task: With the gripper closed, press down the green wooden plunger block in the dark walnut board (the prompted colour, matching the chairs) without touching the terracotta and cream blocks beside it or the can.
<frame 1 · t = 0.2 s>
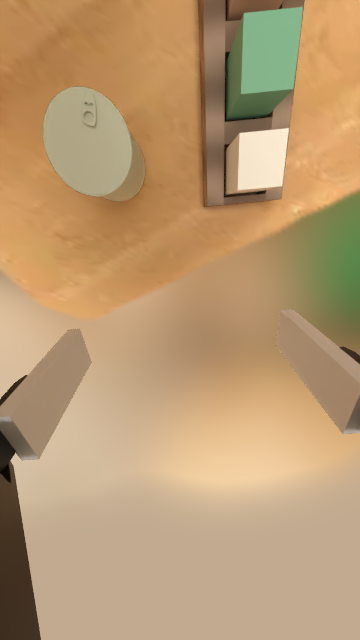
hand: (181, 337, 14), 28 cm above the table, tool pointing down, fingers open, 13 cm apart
green block: (257, 74, 24), point 6 cm above the table, slide at 0.0 cm
walnut board: (240, 101, 29), on the table
can: (115, 167, 33), on the table
cream block: (251, 166, 27), point 6 cm above the table, slide at 0.0 cm
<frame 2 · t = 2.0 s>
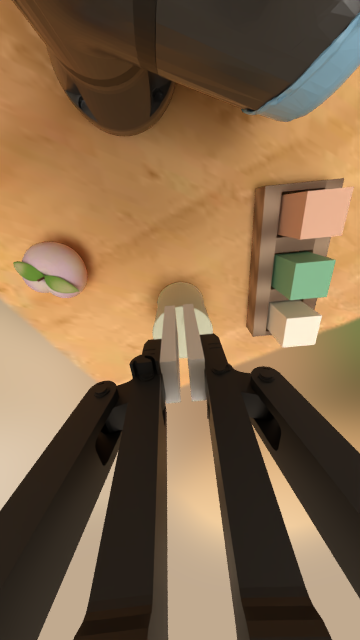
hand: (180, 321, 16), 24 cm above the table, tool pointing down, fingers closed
green block: (298, 274, 33), point 6 cm above the table, slide at 0.0 cm
walnut board: (280, 265, 39), on the table
can: (180, 303, 42), on the table
cream block: (290, 321, 37), point 6 cm above the table, slide at 0.0 cm
terracotta block: (309, 214, 29), point 7 cm above the table, slide at 0.0 cm
decorative fruit: (70, 262, 38), on the table
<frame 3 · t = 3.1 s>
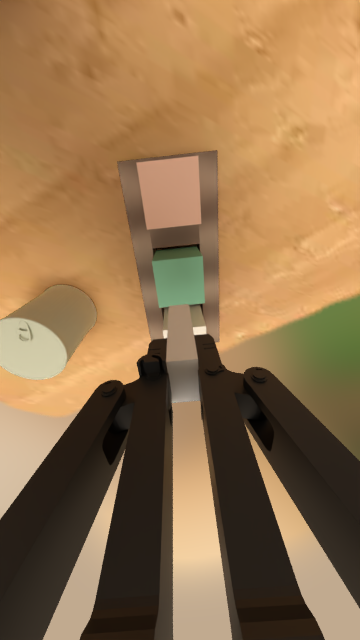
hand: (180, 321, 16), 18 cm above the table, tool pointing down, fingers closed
green block: (178, 274, 27), point 6 cm above the table, slide at 0.0 cm
walnut board: (177, 263, 32), on the table
can: (69, 310, 36), on the table
cream block: (184, 332, 31), point 7 cm above the table, slide at 0.0 cm
terracotta block: (171, 197, 23), point 7 cm above the table, slide at 0.0 cm
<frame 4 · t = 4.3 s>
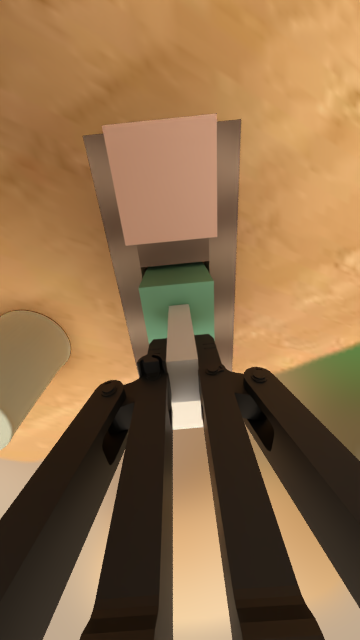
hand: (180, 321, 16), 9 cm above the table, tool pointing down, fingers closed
green block: (178, 300, 19), point 5 cm above the table, slide at -1.4 cm, touching gripper
walnut board: (177, 283, 24), on the table
can: (34, 341, 27), on the table
cream block: (185, 380, 22), point 7 cm above the table, slide at 0.0 cm
terracotta block: (167, 192, 14), point 6 cm above the table, slide at 0.0 cm
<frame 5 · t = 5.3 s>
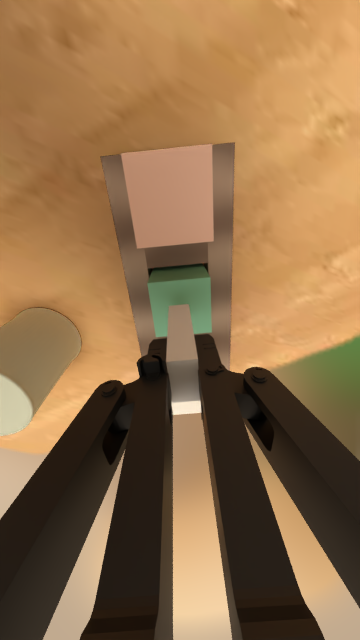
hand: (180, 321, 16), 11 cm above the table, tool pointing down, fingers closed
green block: (180, 296, 22), point 5 cm above the table, slide at -2.0 cm
walnut board: (179, 283, 26), on the table
can: (48, 337, 30), on the table
cream block: (187, 371, 24), point 7 cm above the table, slide at 0.0 cm
terracotta block: (171, 203, 17), point 7 cm above the table, slide at 0.0 cm
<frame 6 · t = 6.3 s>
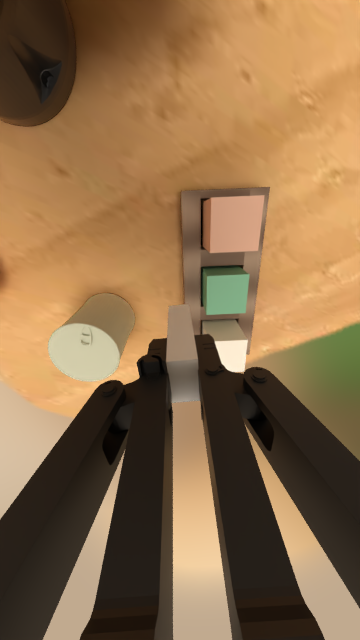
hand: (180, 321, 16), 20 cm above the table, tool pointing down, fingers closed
green block: (221, 287, 31), point 5 cm above the table, slide at -2.0 cm
walnut board: (216, 279, 35), on the table
can: (109, 316, 38), on the table
cream block: (221, 343, 33), point 7 cm above the table, slide at 0.0 cm
terracotta block: (228, 224, 26), point 7 cm above the table, slide at 0.0 cm
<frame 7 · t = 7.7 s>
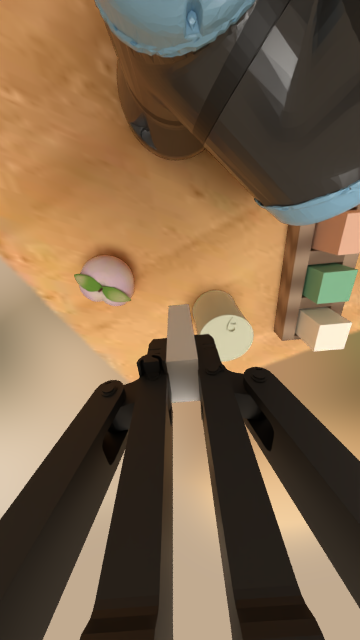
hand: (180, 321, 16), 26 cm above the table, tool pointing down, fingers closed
green block: (323, 281, 38), point 5 cm above the table, slide at -2.0 cm
walnut board: (308, 274, 42), on the table
can: (213, 310, 45), on the table
cream block: (319, 327, 40), point 6 cm above the table, slide at 0.0 cm
terracotta block: (344, 231, 32), point 6 cm above the table, slide at 0.0 cm
decorative fruit: (115, 272, 41), on the table
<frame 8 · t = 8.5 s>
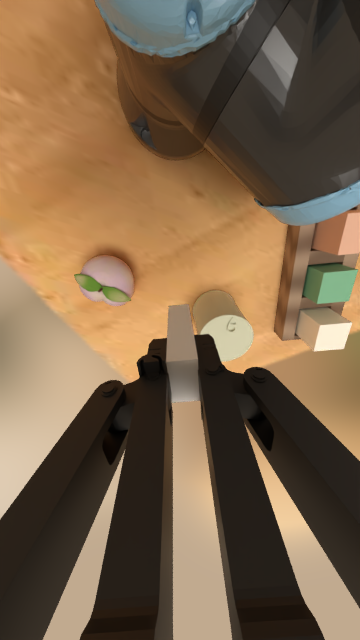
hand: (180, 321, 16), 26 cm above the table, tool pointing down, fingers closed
green block: (323, 281, 38), point 5 cm above the table, slide at -2.0 cm
walnut board: (309, 274, 42), on the table
can: (213, 310, 45), on the table
cream block: (319, 327, 40), point 7 cm above the table, slide at 0.0 cm
terracotta block: (344, 231, 32), point 7 cm above the table, slide at 0.0 cm
decorative fruit: (115, 272, 41), on the table
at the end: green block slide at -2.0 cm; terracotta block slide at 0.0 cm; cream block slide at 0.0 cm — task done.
